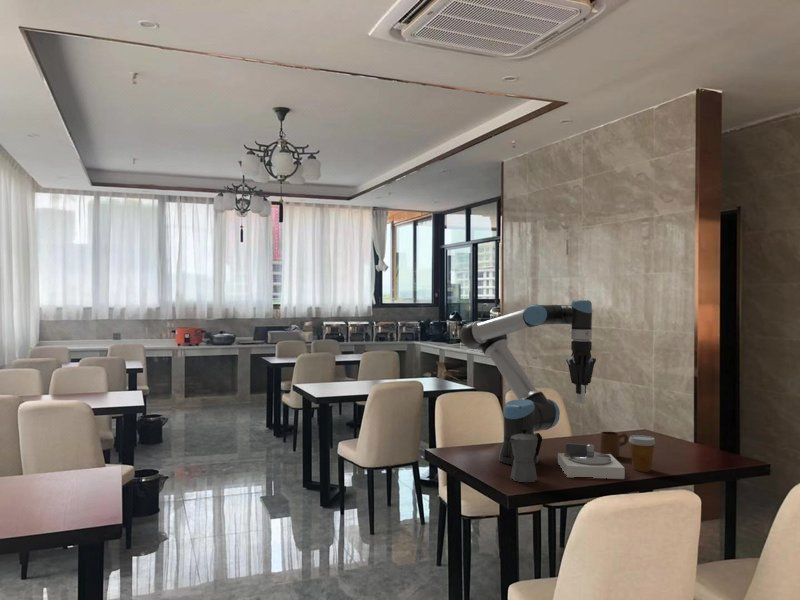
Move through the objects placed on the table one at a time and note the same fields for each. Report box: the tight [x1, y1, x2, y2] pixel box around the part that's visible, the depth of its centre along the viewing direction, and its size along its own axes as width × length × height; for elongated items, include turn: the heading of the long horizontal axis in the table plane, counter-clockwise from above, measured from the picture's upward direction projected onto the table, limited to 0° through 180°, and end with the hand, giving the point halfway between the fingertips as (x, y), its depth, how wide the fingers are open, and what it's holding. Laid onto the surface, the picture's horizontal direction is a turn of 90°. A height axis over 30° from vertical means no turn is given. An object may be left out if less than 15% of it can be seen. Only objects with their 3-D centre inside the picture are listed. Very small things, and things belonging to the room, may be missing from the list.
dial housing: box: [557, 452, 626, 480], centre depth 238 cm, size 20×20×5 cm
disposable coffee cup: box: [628, 434, 657, 473], centre depth 241 cm, size 10×10×12 cm
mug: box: [599, 431, 629, 459], centre depth 261 cm, size 12×8×9 cm, turn 103°
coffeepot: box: [509, 428, 543, 483], centre depth 226 cm, size 15×9×18 cm, turn 125°
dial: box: [565, 442, 611, 465], centre depth 238 cm, size 16×15×5 cm
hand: (580, 402), depth 245 cm, fingers closed
